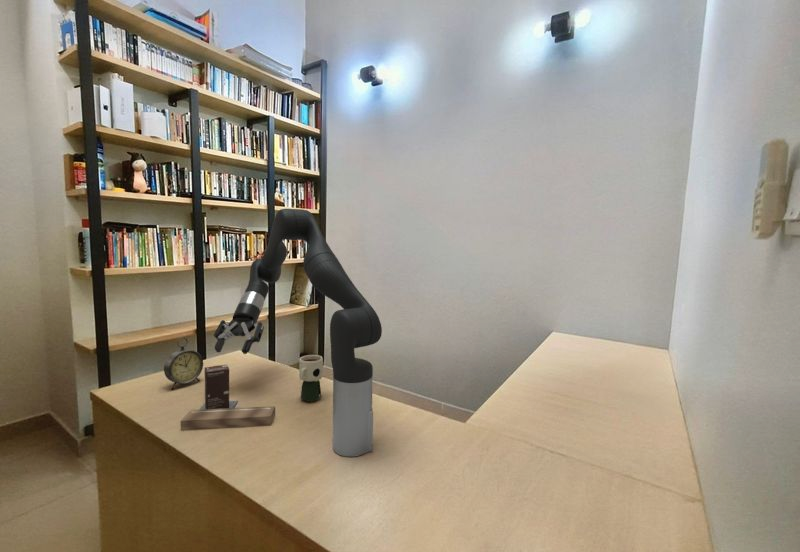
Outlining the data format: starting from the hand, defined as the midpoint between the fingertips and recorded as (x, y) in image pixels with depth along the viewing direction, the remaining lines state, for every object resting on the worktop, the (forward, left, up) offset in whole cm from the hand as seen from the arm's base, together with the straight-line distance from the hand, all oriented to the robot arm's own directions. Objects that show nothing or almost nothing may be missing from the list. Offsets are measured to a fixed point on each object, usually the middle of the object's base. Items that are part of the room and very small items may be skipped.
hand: (230, 352), depth 109 cm
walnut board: (-4, +15, -15) cm, 22 cm away
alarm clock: (+19, -13, -15) cm, 28 cm away
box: (+2, +8, -14) cm, 16 cm away
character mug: (-24, +3, -15) cm, 29 cm away
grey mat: (+2, +7, -15) cm, 17 cm away
